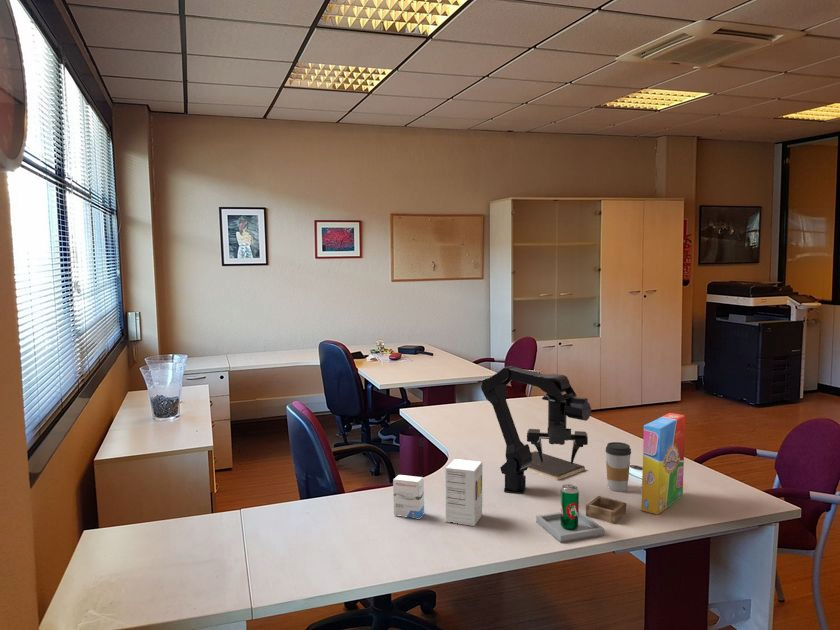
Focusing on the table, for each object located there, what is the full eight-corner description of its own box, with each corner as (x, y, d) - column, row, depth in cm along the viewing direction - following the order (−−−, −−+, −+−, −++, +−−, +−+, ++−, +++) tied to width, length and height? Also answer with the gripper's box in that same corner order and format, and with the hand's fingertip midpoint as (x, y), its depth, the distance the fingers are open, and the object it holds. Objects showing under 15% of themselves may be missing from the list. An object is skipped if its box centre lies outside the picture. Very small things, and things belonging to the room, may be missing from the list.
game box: (657, 515, 192) (660, 428, 189) (640, 511, 195) (642, 425, 193) (683, 495, 207) (685, 414, 204) (666, 491, 211) (668, 411, 208)
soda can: (563, 521, 187) (563, 482, 186) (580, 525, 185) (580, 485, 183) (558, 528, 183) (558, 488, 181) (576, 532, 180) (576, 491, 179)
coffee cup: (631, 493, 209) (632, 449, 207) (605, 492, 211) (606, 448, 209) (628, 484, 217) (629, 442, 216) (603, 483, 219) (604, 441, 217)
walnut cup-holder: (585, 515, 192) (586, 504, 192) (598, 506, 199) (598, 495, 199) (614, 523, 186) (614, 512, 186) (626, 513, 193) (626, 502, 193)
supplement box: (474, 526, 185) (474, 471, 184) (444, 522, 189) (444, 467, 187) (483, 514, 194) (483, 461, 193) (454, 510, 198) (454, 457, 196)
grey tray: (560, 542, 175) (560, 535, 175) (536, 522, 188) (536, 515, 188) (604, 535, 179) (604, 528, 179) (577, 515, 192) (577, 509, 192)
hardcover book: (557, 482, 222) (557, 476, 222) (508, 465, 240) (508, 459, 239) (584, 471, 232) (585, 465, 232) (536, 456, 250) (536, 450, 249)
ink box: (424, 513, 195) (424, 476, 194) (419, 520, 191) (419, 482, 189) (399, 510, 198) (398, 473, 197) (393, 516, 193) (392, 479, 192)
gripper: (525, 420, 194) (525, 469, 196) (588, 423, 190) (587, 473, 192) (528, 411, 205) (527, 457, 207) (587, 413, 201) (586, 461, 202)
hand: (556, 462), depth 202 cm, fingers open, 9 cm apart
